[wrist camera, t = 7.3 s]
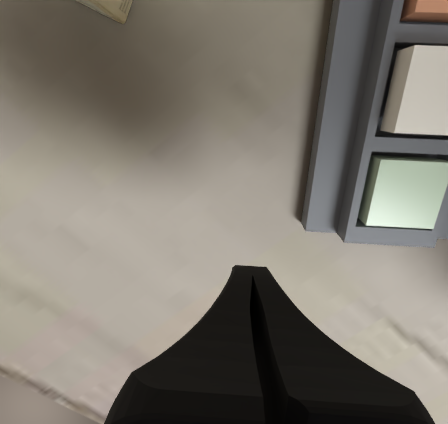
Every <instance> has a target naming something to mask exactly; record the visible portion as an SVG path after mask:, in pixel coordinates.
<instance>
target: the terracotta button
mask: <svg viewBox="0 0 448 424" xmlns="http://www.w3.org/2000/svg"><path fill="white" fill-rule="evenodd" d="M400 21H413V22H445V23H448V0H404V3H403V8H402V13H401V17H400Z"/></svg>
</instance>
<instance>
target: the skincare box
mask: <svg viewBox="0 0 448 424" xmlns="http://www.w3.org/2000/svg"><path fill="white" fill-rule="evenodd" d="M76 1H78V2H80V3H82V4H83V5H85V6H87V7H89V8H91V9H93V10H95V11H97V12H99V13H101V14H103V15H105V16H107V17H109V18H111V19H113V20H115V21H117V22H119V23H122V24H124V23H125V22H126V19H127V16H128V13H129V10H130V7H131V4H132V1H133V0H76Z"/></svg>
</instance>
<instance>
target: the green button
mask: <svg viewBox="0 0 448 424" xmlns="http://www.w3.org/2000/svg"><path fill="white" fill-rule="evenodd" d="M447 185H448V161H445V160H442V159H438V158H426V157H404V156H383V155H371V157H370V161H369V166H368V171H367V175H366V180H365V185H364V189H363V194H362V199H361V203H360V208H359V213H358V218H359V219H360V220H361V221H362V222H363V223H364V224H365V225H368V226H386V227H404V228H423V229H434V225H435V222H436V219H437V216H438V213H439V210H440V207H441V203H442V200H443V197H444V194H445V191H446V188H447Z"/></svg>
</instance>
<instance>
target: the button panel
mask: <svg viewBox="0 0 448 424" xmlns="http://www.w3.org/2000/svg"><path fill="white" fill-rule="evenodd" d="M403 3H404V0H333V4H332V11H331V18H330V25H329V32H328V39H327V46H326V53H325V60H324V67H323V74H322V81H321V88H320V95H319V102H318V109H317V116H316V123H315V130H314V137H313V144H312V151H311V158H310V165H309V172H308V179H307V186H306V193H305V200H304V207H303V214H302V221H301V224H302V225H303V227H304V229H305V231H311V232H329V233H337V234H338V235H339V237H340V238H341V239H342V240H343V242H344V243H360V244H378V245H396V246H413V247H431V248H434V247H435V244H436V241H437V238H438V239H448V185H447V188H446V191H445V194H444V197H443V200H442V203H441V207H440V210H439V213H438V216H437V219H436V222H435V225H434V229H423V228H404V227H386V226H368V225H365V224H364V223H363V222H362V221H361V220H360V219H359V218H358V213H359V208H360V203H361V199H362V194H363V189H364V185H365V180H366V175H367V171H368V166H369V161H370V157H371V155H383V156H404V157H426V158H438V159H442V160H445V161H448V135H427V134H404V133H391V132H386V131H380V128H381V124H382V119H383V115H384V110H385V106H386V101H387V96H388V92H389V87H390V83H391V78H392V74H393V69H394V65H395V60H396V56H397V51H399V50H402V49H405V48H408V47H411V46H414V45H427V46H448V23H445V22H413V21H400V17H401V13H402V8H403Z"/></svg>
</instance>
